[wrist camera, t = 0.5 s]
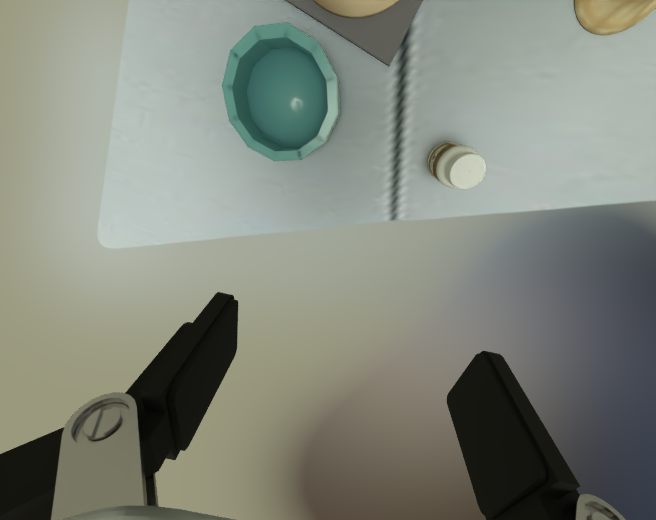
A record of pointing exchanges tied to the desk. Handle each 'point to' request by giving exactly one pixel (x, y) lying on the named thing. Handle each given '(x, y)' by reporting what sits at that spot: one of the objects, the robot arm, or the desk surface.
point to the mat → (368, 26)
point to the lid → (355, 7)
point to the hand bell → (611, 14)
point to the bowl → (281, 92)
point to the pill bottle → (456, 165)
